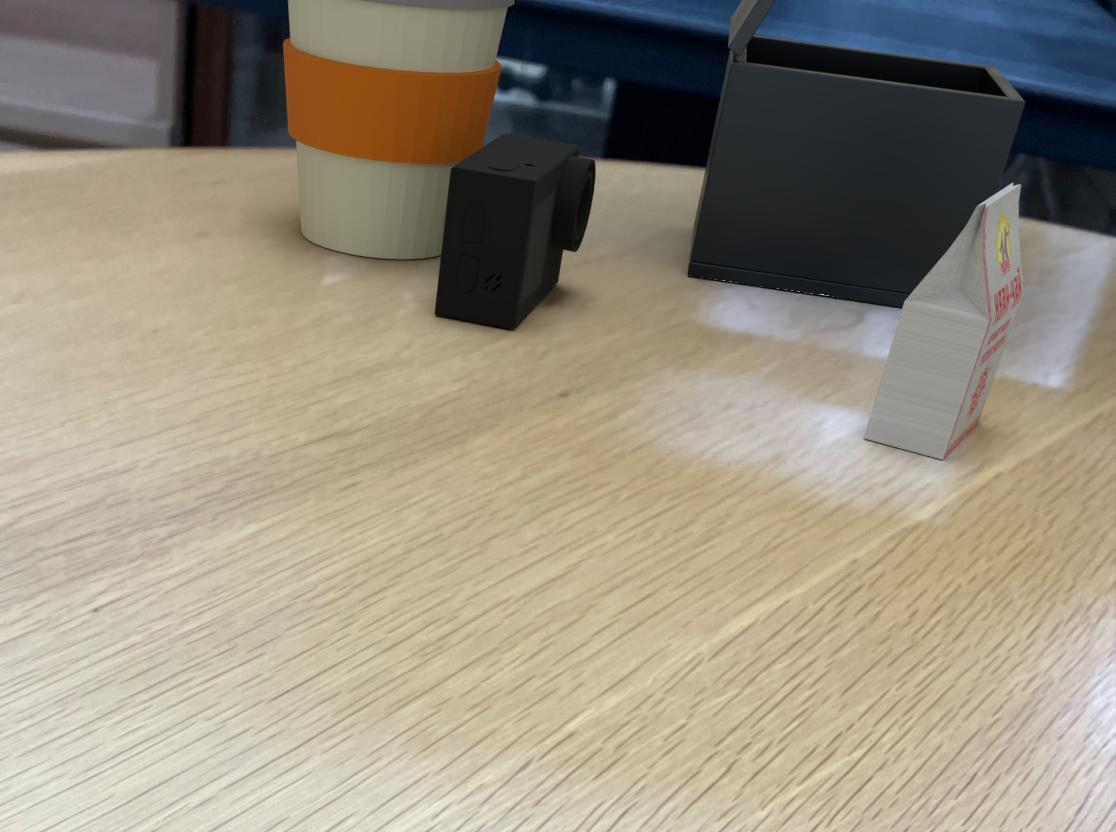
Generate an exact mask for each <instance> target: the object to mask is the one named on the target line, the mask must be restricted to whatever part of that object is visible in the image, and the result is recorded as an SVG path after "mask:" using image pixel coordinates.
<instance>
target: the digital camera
mask: <svg viewBox="0 0 1116 832" xmlns="http://www.w3.org/2000/svg"><path fill="white" fill-rule="evenodd" d="M579 154H580V146H579V145H578V144H571V143H566V142H560V141H554V140H548V139H541V138H536V137H530V136H523V135H518V134H513V133H503V134H501V135H500V136H498V137H496V138H494V139H493V140H491V141H489V142H488V143H486V144H484V145H483V147H482V148H480V149H479V150H477V151H476V152H474V153H473V154H471V155H470V156H468V157H467V158H465V159H464V160H462V161H461V162H459V163H458V164H456V165H455V166H454V167H452V168H451V172H450V180H449V188H448V197H447V206H446V215H445V224H444V233H443V242H442V251H441V255H440V260H439V261H440V262H439V270H438V278H437V289H436V297H435V307H434V315H435V316H439V317H440V316H441V317H445V318H446V317H447V318H451V319H452V318H453V319H457V320H462V321H467V322H473V323H477V324H478V323H479V324H484V325H488V326H493V327H498V328H504V329H508V330H509V329H510V330H512V329H514V328H515V327H516V326H517V325H518V324H519V323H521V322H522V321H523V320H524V319H525V317H526V316H528V314H529V313H530V312H531V311H532V310H533V309H534V308H535V307H536V306H537V305H538V304H539V303H540V302H541V300H542V299H543V298H544V297H546V296H547V294H548V293H549V292H550V291H551V290H552V289H553V288H554V287H555V286H556V285H557V284H558V283H559V280H560V274H561V267H562V261H563V255H564V251H567V252H572V253H577V252H578V251H579V249H580V247H581V245H582V242H583V239H584V238H585V235H586V234H585V233H586V230H587V227H588V224H589V219H590V215H591V210H592V205H593V199H594V194H595V187H596V177H597V171H596V169H597V168H596V167H597V166H596V161H595V159H594V158H586V157H581V156H580V155H579ZM579 156H580V157H579Z"/></svg>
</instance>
